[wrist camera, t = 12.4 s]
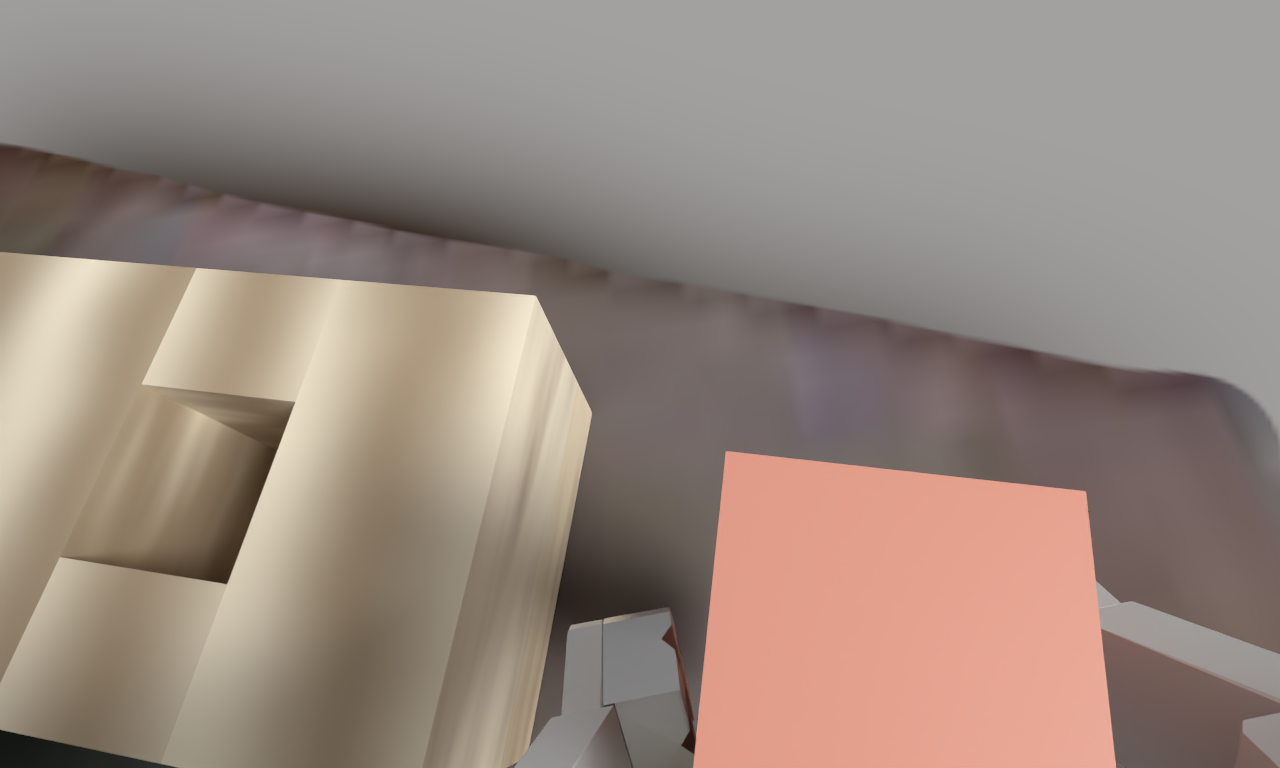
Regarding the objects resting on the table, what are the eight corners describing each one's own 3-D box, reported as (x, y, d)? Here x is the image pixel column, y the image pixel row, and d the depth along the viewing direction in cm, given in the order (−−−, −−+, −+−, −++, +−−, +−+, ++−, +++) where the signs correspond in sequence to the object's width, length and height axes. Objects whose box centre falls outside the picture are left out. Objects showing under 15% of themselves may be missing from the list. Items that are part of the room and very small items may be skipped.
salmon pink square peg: (706, 712, 18) (684, 841, 5) (718, 596, 19) (725, 451, 6) (821, 732, 17) (1134, 931, 4) (826, 612, 18) (1086, 491, 5)
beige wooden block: (-78, 640, 25) (-469, 630, 17) (76, 348, 30) (-171, 227, 21) (527, 757, 21) (410, 816, 13) (594, 403, 26) (538, 282, 18)
